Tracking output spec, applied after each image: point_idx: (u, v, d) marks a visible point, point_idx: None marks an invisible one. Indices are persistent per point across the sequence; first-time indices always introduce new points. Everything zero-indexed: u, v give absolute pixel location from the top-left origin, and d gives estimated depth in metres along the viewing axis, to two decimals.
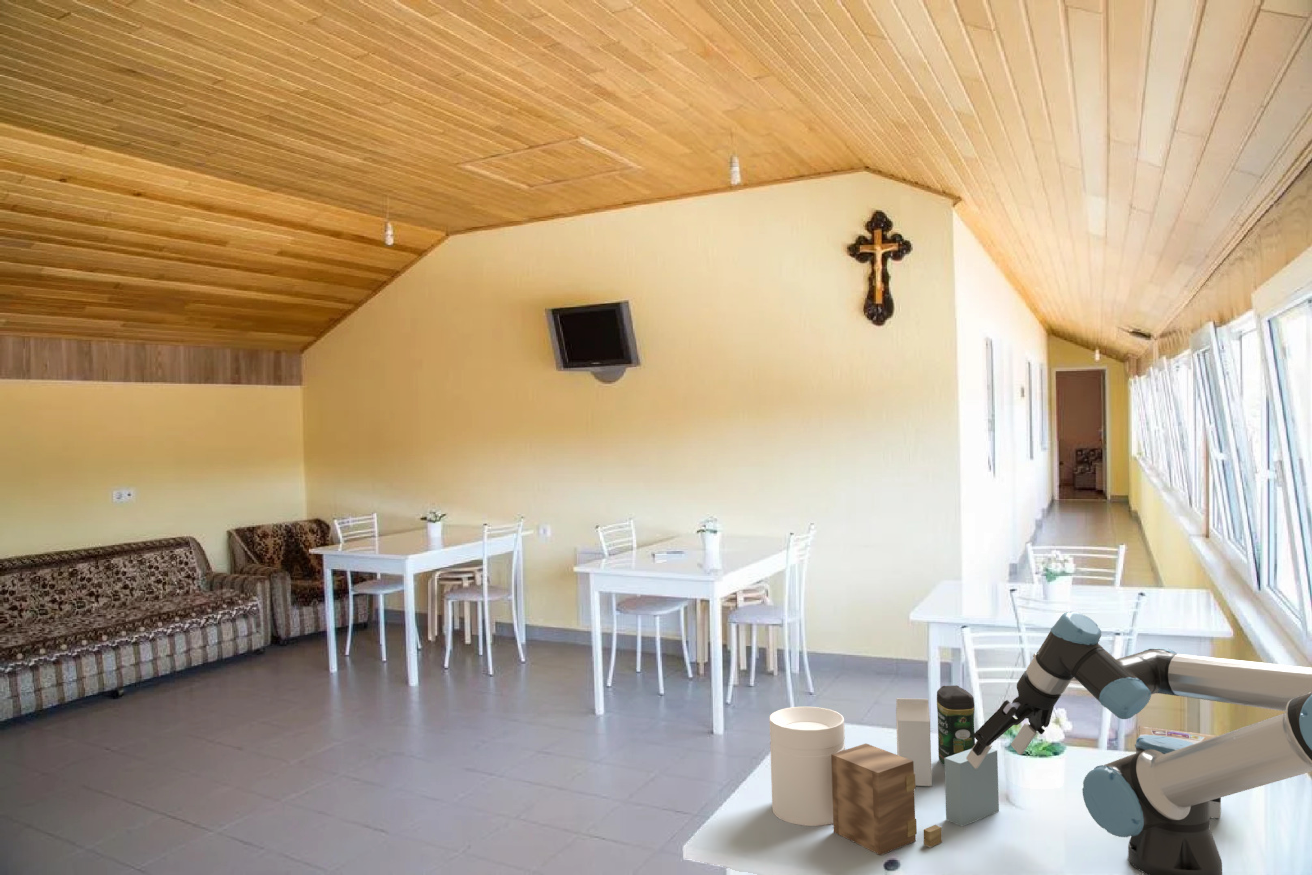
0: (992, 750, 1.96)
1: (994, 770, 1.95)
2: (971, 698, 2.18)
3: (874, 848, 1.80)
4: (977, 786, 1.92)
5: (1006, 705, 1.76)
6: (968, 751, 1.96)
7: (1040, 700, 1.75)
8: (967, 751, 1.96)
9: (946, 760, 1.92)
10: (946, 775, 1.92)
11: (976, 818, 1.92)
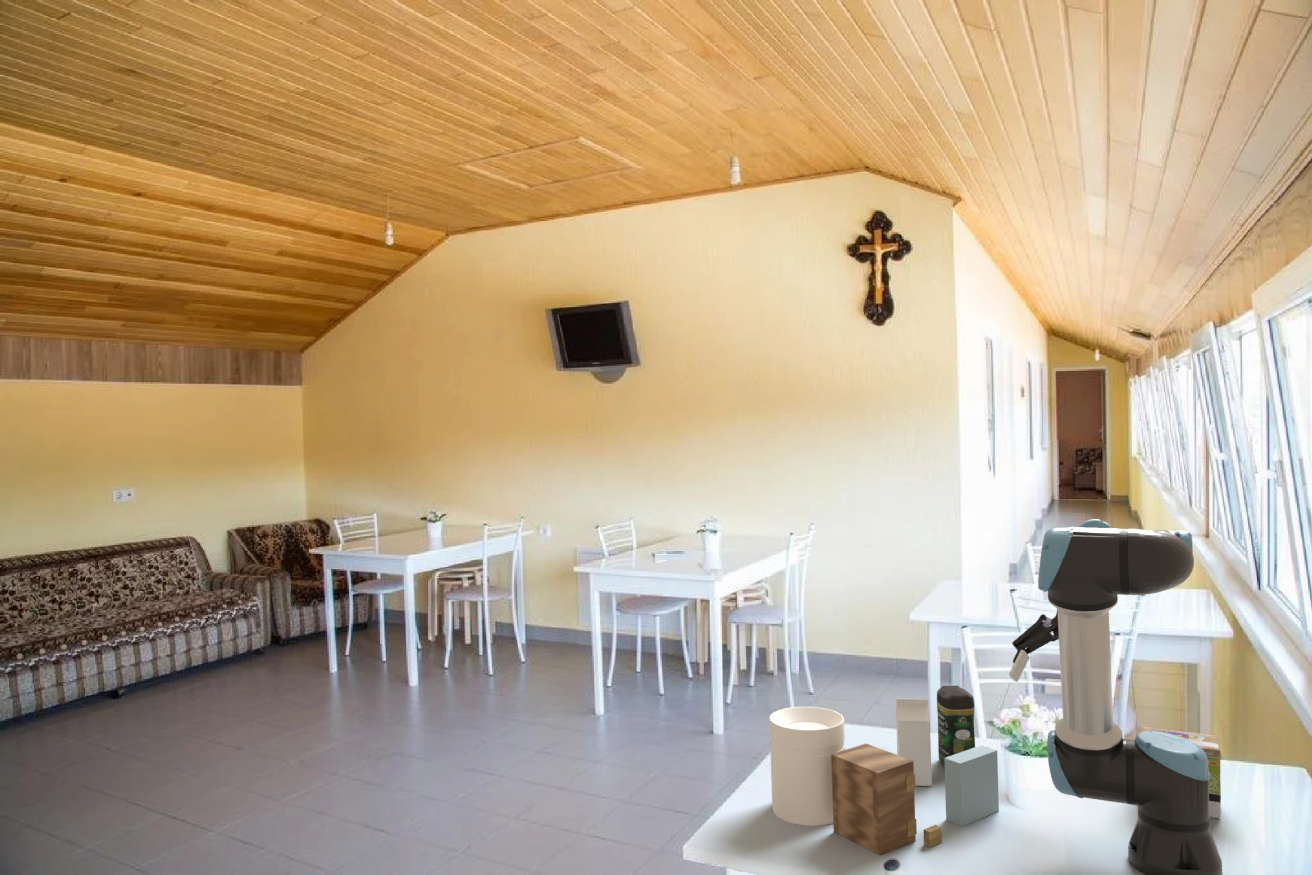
0: (992, 750, 1.96)
1: (994, 770, 1.95)
2: (971, 698, 2.18)
3: (874, 848, 1.80)
4: (977, 786, 1.92)
5: None
6: (968, 751, 1.96)
7: None
8: (967, 751, 1.96)
9: (946, 760, 1.92)
10: (946, 775, 1.92)
11: (976, 818, 1.92)
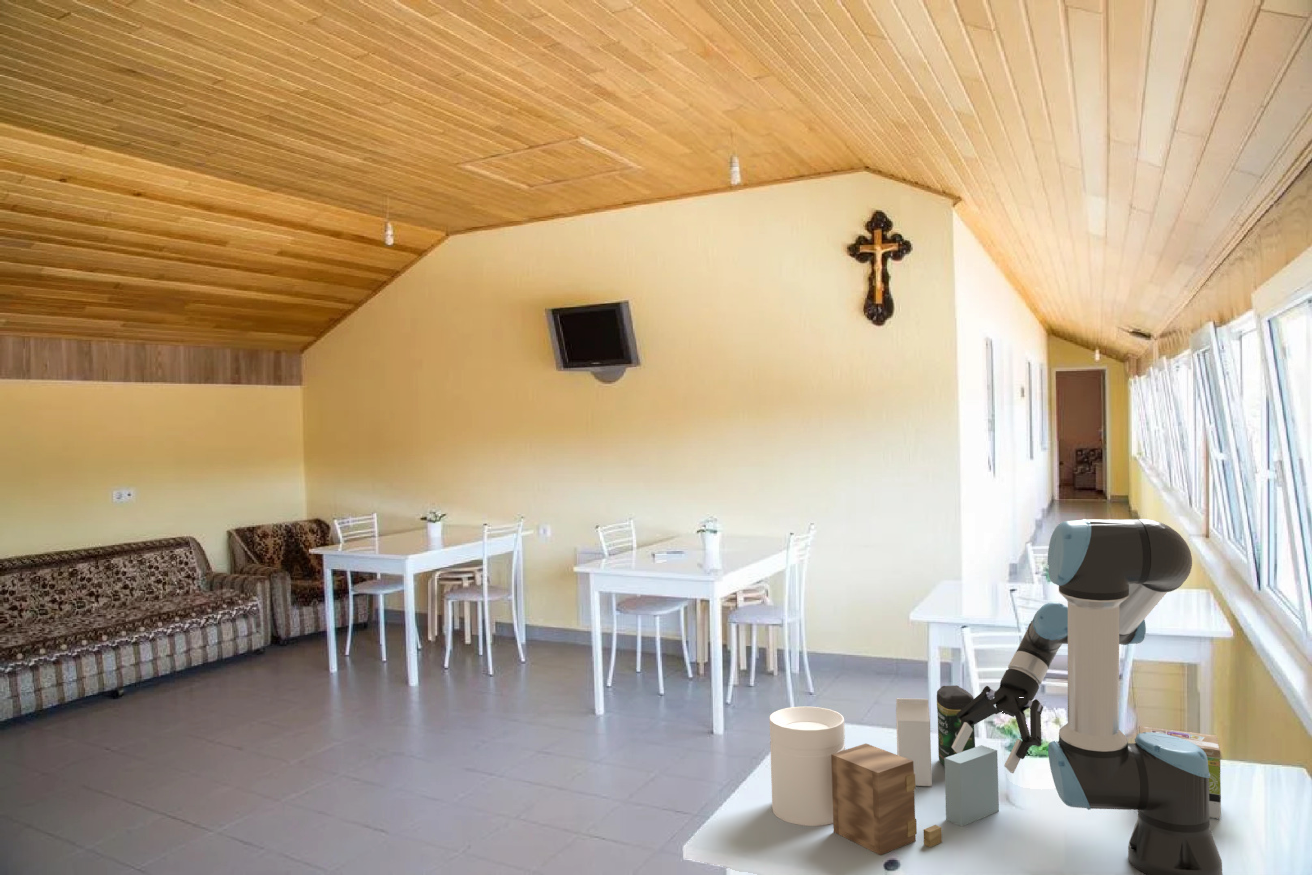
0: (992, 750, 1.96)
1: (994, 770, 1.95)
2: (971, 698, 2.18)
3: (874, 848, 1.80)
4: (977, 786, 1.92)
5: None
6: (968, 751, 1.96)
7: None
8: (967, 751, 1.96)
9: (946, 760, 1.92)
10: (946, 775, 1.92)
11: (976, 818, 1.92)
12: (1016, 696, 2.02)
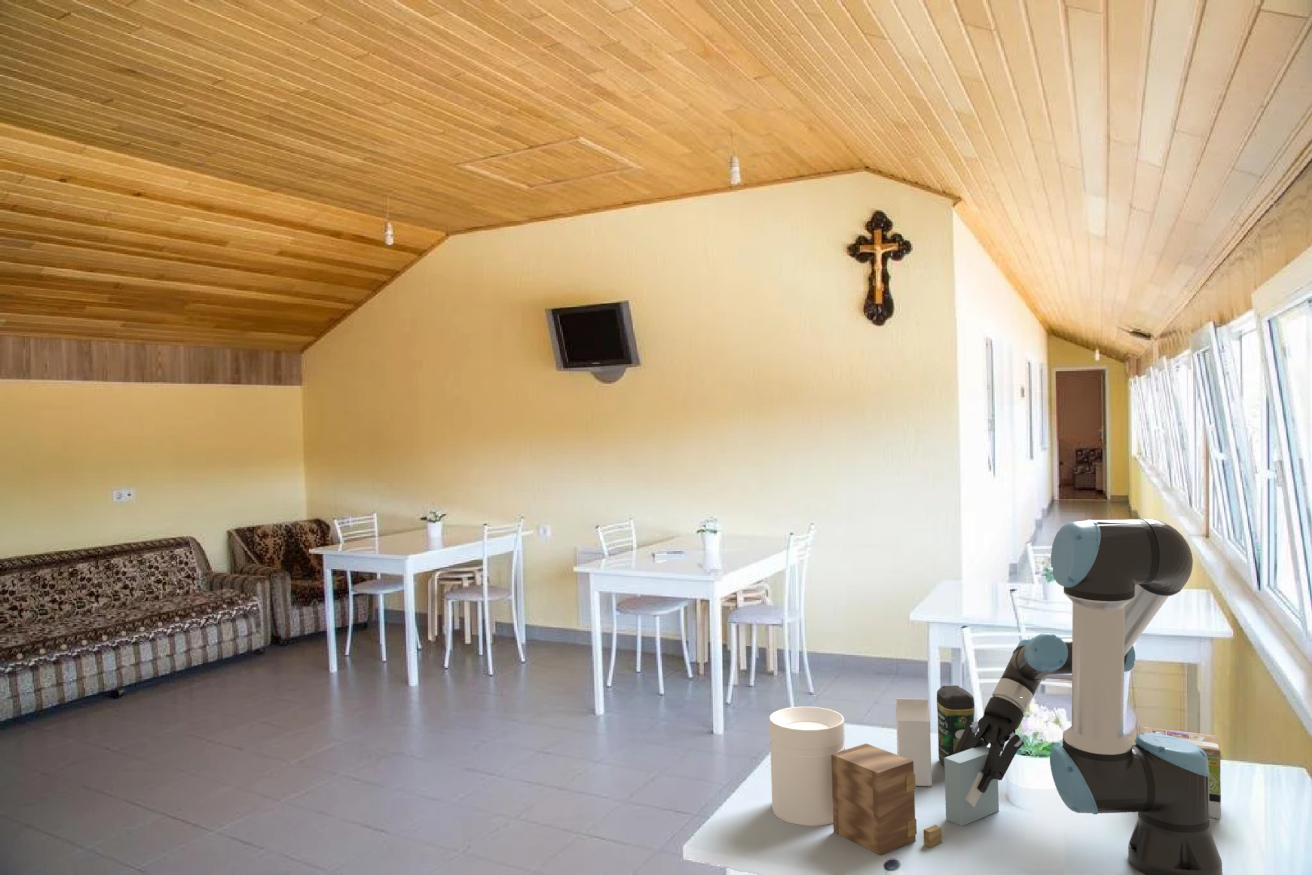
0: None
1: None
2: (971, 698, 2.18)
3: (874, 848, 1.80)
4: None
5: None
6: (968, 751, 1.96)
7: (988, 702, 2.02)
8: (967, 751, 1.96)
9: (946, 760, 1.92)
10: (946, 775, 1.92)
11: (976, 818, 1.92)
12: (1000, 725, 1.97)
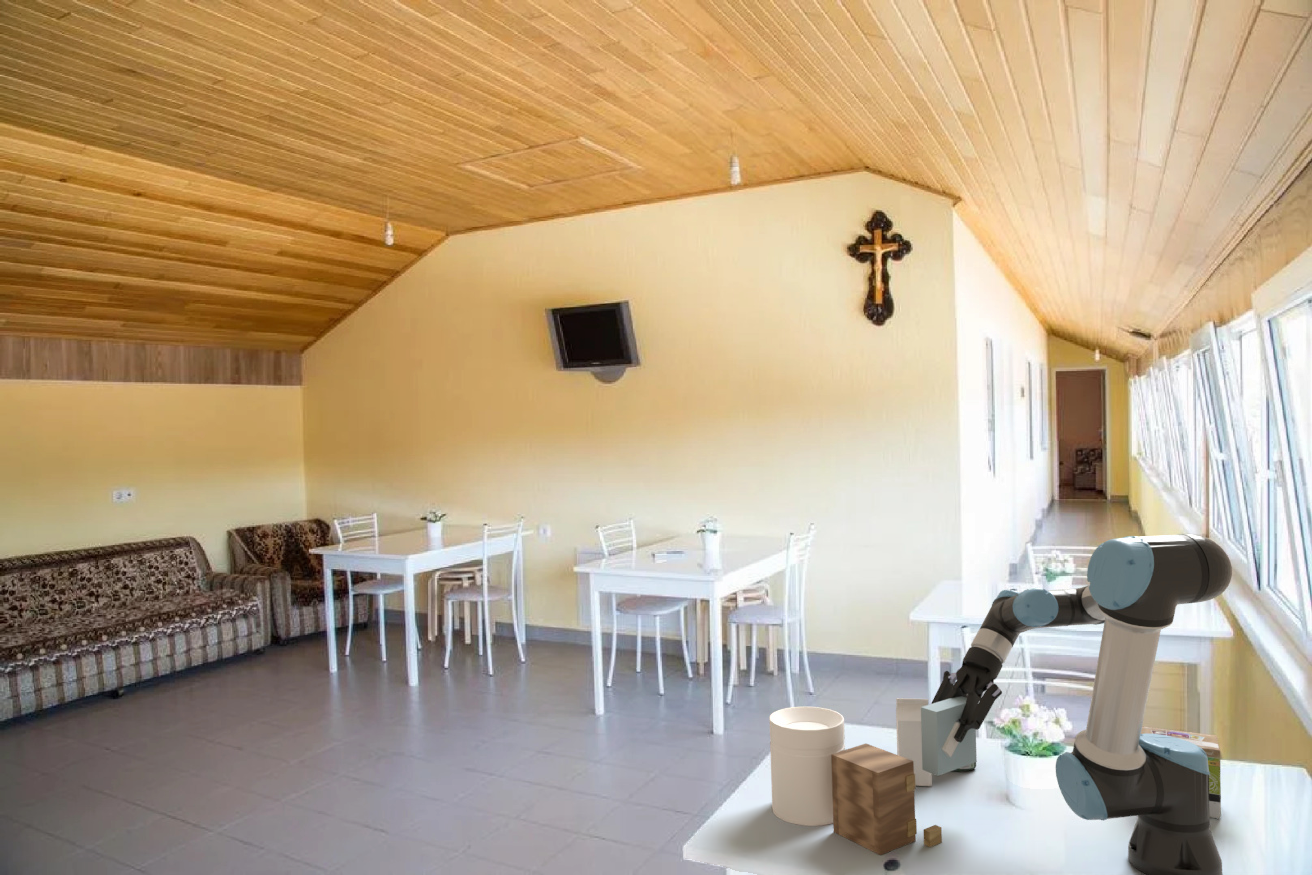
0: None
1: None
2: None
3: (874, 848, 1.80)
4: None
5: None
6: (945, 701, 1.93)
7: (966, 653, 1.98)
8: (944, 701, 1.93)
9: (922, 709, 1.89)
10: (922, 724, 1.89)
11: (953, 768, 1.89)
12: (978, 675, 1.94)
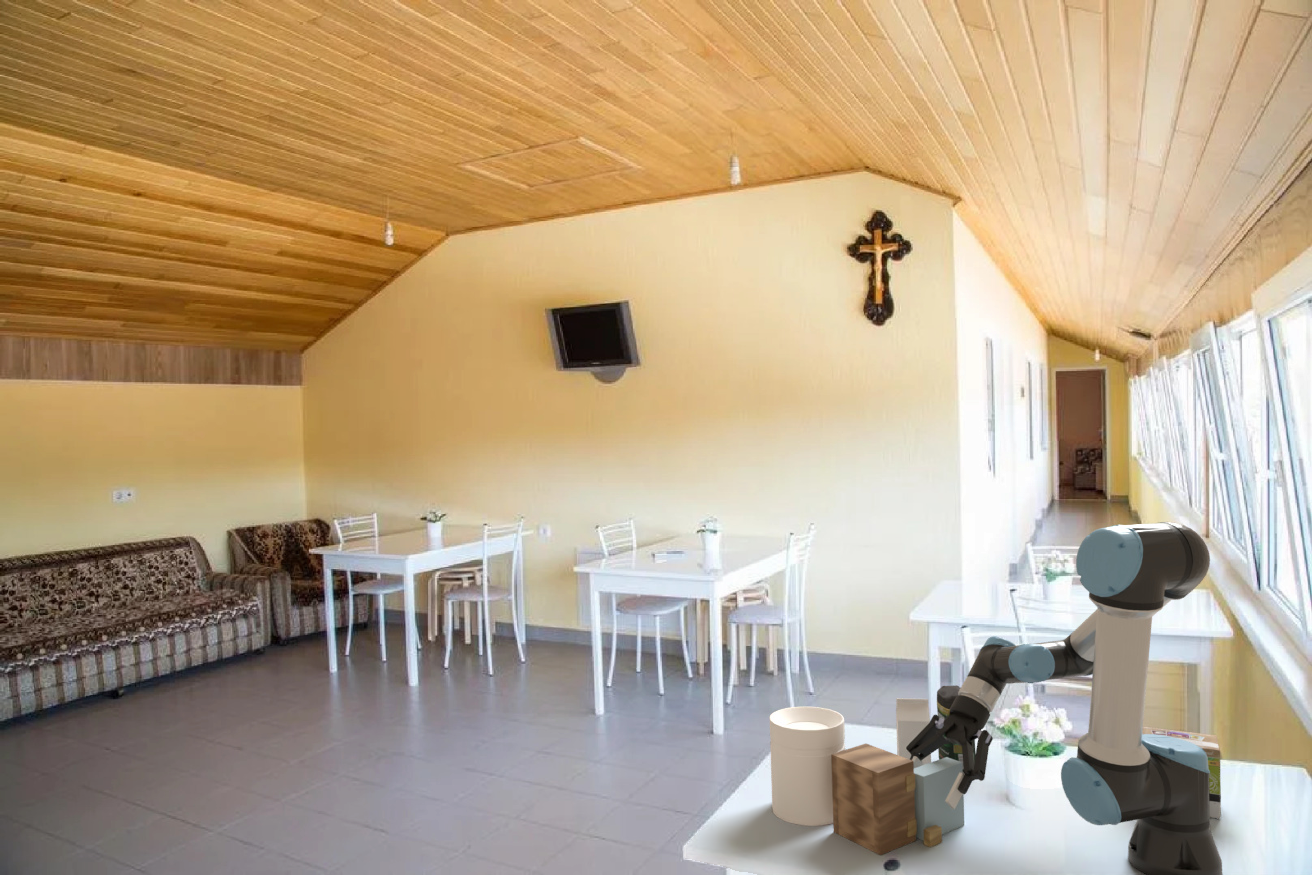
0: (957, 762, 1.90)
1: None
2: None
3: (874, 848, 1.80)
4: (941, 799, 1.86)
5: None
6: (933, 763, 1.90)
7: None
8: (931, 763, 1.90)
9: None
10: None
11: None
12: (966, 724, 1.91)
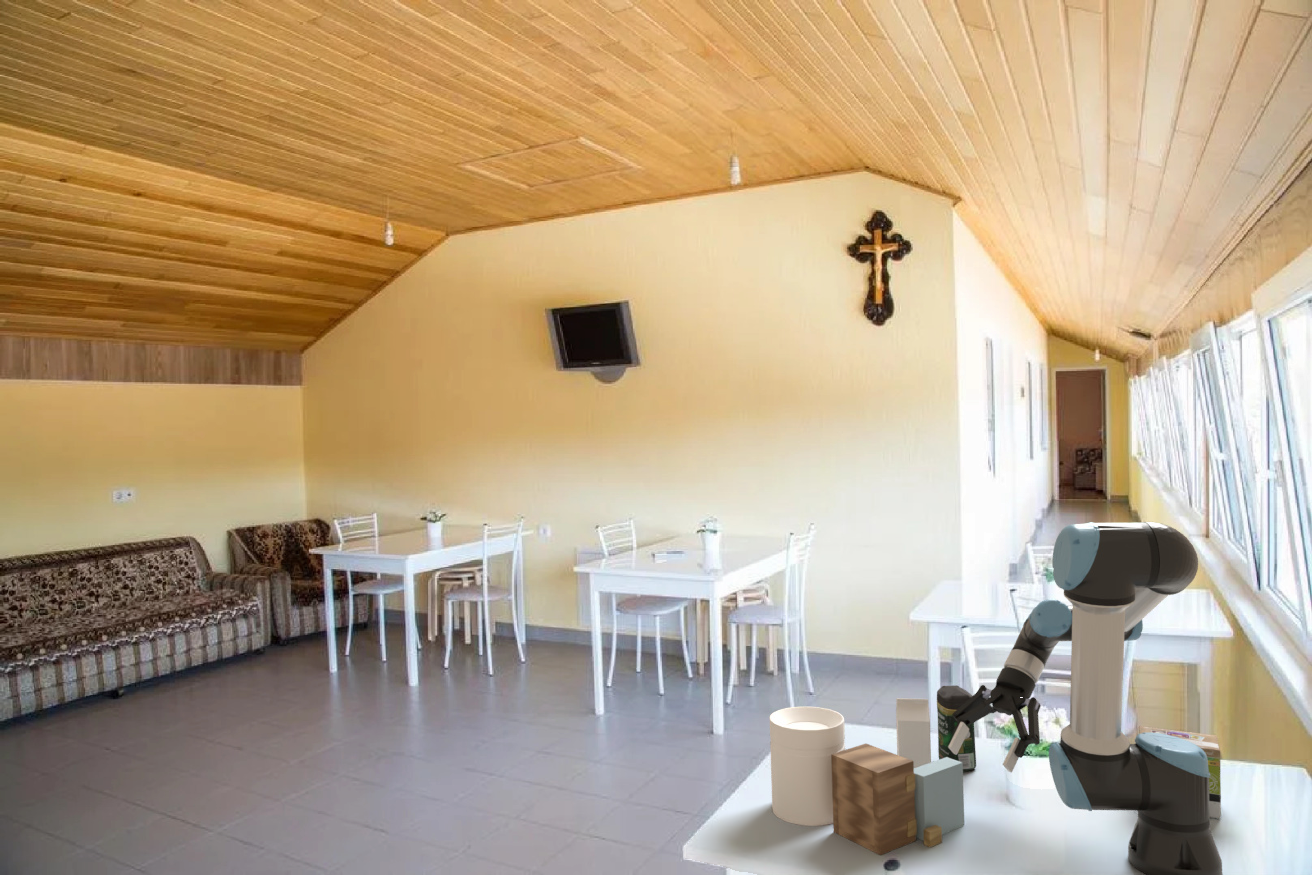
0: (957, 762, 1.90)
1: (959, 783, 1.89)
2: None
3: (874, 848, 1.80)
4: (941, 799, 1.86)
5: None
6: (932, 763, 1.90)
7: None
8: (931, 763, 1.90)
9: None
10: None
11: None
12: (1013, 694, 2.00)
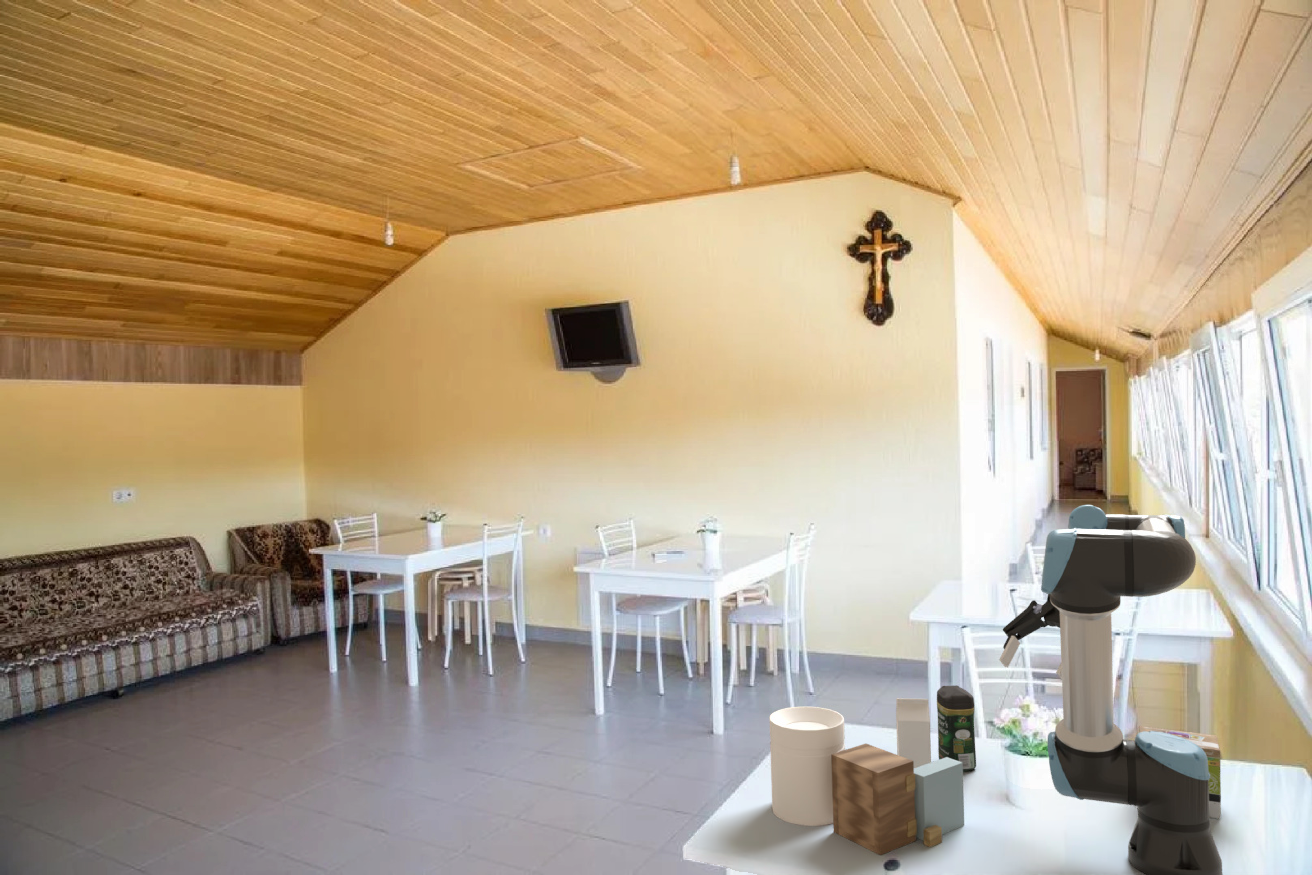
0: (957, 762, 1.90)
1: (959, 783, 1.89)
2: (971, 698, 2.18)
3: (874, 848, 1.80)
4: (941, 799, 1.86)
5: None
6: (933, 763, 1.90)
7: None
8: (932, 763, 1.90)
9: None
10: None
11: None
12: None
